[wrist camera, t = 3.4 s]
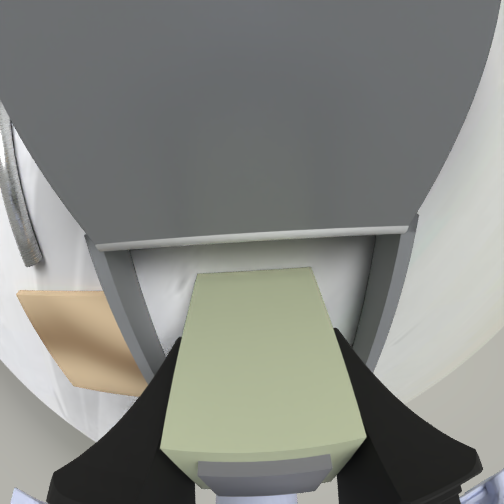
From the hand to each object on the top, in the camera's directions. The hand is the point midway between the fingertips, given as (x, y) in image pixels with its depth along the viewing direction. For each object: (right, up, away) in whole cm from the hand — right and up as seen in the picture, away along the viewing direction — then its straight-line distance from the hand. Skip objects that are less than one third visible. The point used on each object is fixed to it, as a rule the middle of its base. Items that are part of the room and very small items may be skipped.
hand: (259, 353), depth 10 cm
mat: (-9, -2, +3) cm, 10 cm away
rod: (-10, +7, -2) cm, 13 cm away
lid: (-1, +9, -2) cm, 9 cm away
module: (0, +1, +2) cm, 2 cm away
